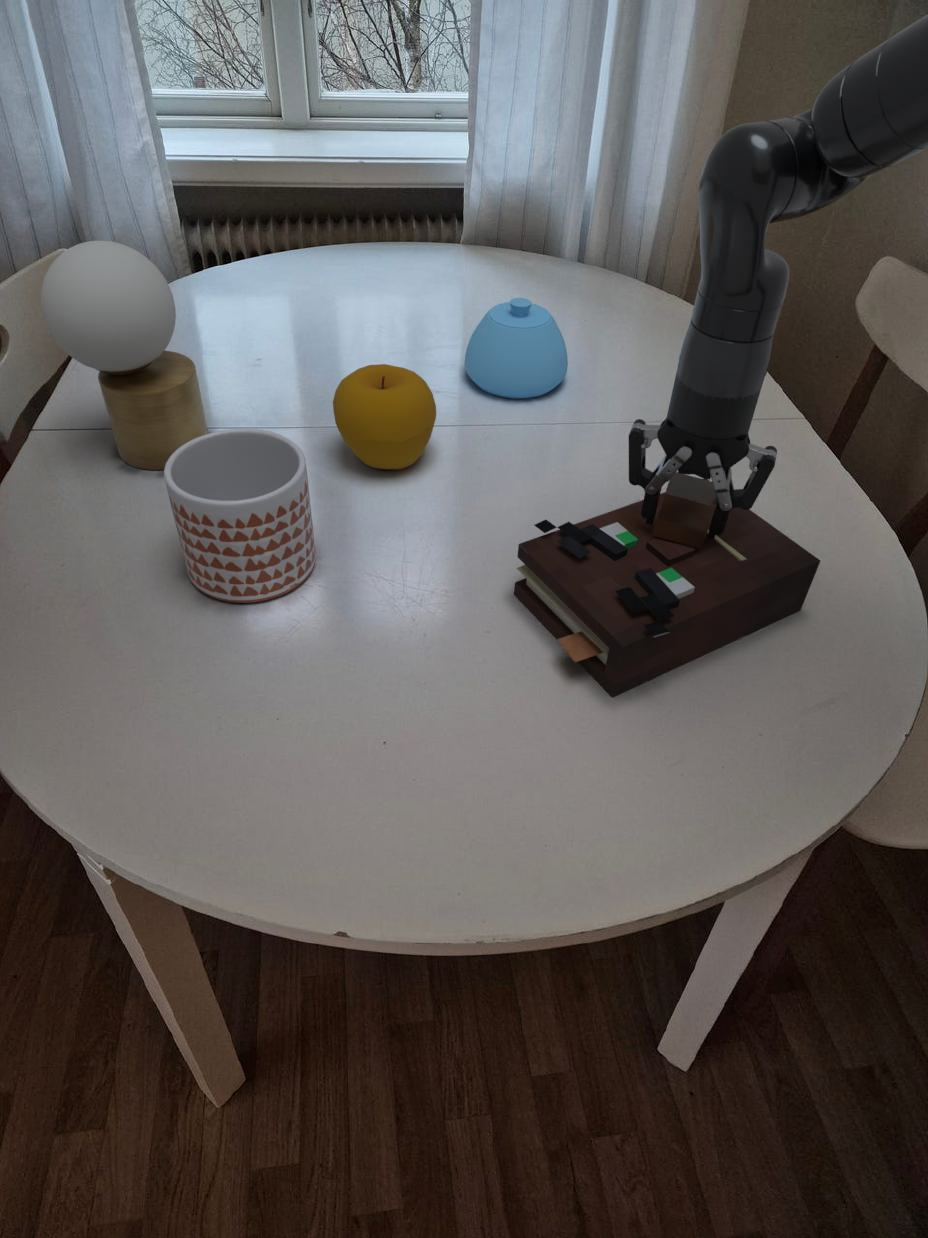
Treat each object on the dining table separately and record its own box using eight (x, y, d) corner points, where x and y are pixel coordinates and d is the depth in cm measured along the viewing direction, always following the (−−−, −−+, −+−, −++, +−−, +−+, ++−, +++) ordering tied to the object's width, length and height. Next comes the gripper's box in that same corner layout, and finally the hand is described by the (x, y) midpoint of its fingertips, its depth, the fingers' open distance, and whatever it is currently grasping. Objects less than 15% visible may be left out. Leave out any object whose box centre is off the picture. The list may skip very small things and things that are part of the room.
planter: (208, 620, 87) (184, 518, 78) (173, 545, 95) (148, 445, 87) (335, 581, 92) (326, 481, 83) (290, 513, 100) (278, 416, 92)
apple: (366, 497, 103) (361, 412, 96) (317, 447, 111) (309, 365, 103) (455, 467, 109) (458, 384, 101) (403, 421, 116) (402, 341, 109)
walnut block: (706, 525, 89) (721, 483, 86) (701, 549, 86) (716, 506, 82) (659, 512, 90) (672, 470, 87) (651, 535, 86) (665, 492, 83)
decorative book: (849, 553, 86) (612, 657, 74) (825, 609, 91) (600, 715, 79) (715, 460, 98) (492, 537, 86) (700, 514, 103) (488, 594, 91)
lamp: (69, 473, 105) (0, 266, 88) (108, 415, 115) (54, 219, 98) (193, 479, 105) (149, 272, 88) (221, 420, 115) (186, 225, 98)
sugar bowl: (565, 407, 121) (574, 327, 113) (458, 398, 122) (461, 319, 114) (566, 358, 132) (575, 283, 124) (469, 351, 133) (472, 276, 125)
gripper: (631, 377, 75) (603, 531, 87) (801, 409, 72) (748, 565, 83) (647, 342, 80) (619, 492, 92) (805, 370, 77) (756, 522, 89)
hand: (681, 526), depth 88 cm, fingers open, 5 cm apart
